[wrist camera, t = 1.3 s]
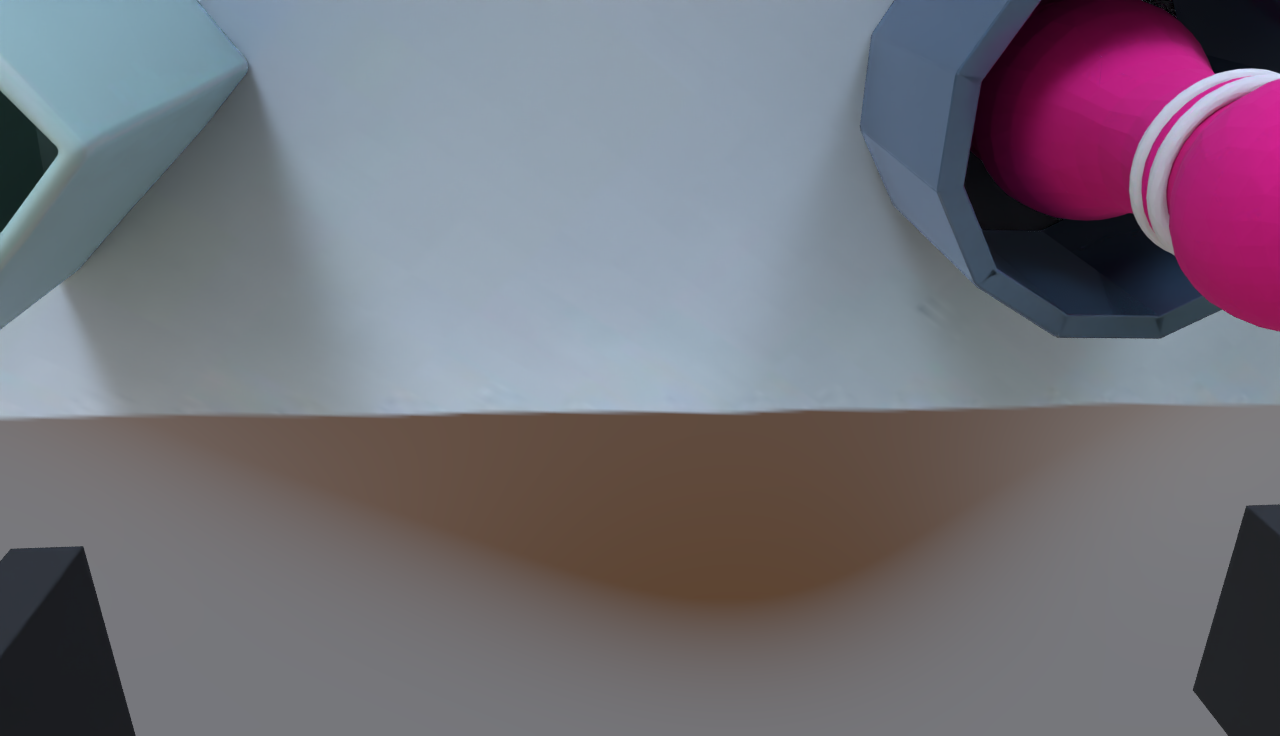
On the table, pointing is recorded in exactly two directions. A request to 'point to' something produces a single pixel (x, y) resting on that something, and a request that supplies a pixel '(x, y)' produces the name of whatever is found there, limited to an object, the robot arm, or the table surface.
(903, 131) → the crock
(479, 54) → the table surface
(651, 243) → the table surface
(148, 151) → the planter
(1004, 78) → the pepper mill
